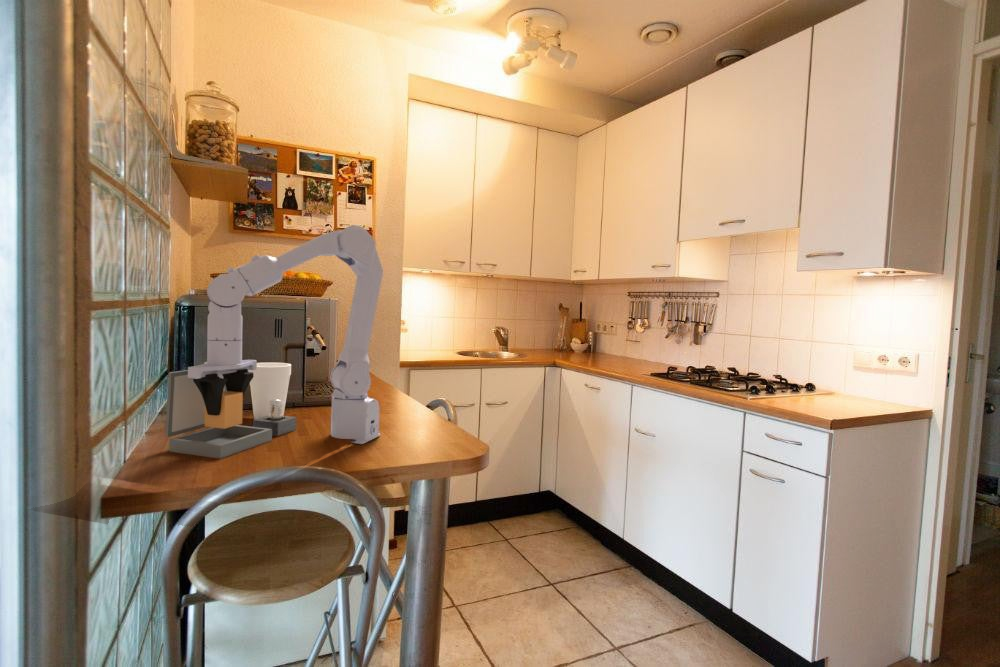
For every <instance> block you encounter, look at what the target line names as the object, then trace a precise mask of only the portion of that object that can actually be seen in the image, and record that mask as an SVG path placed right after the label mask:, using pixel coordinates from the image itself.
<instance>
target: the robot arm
mask: <svg viewBox="0 0 1000 667" xmlns="http://www.w3.org/2000/svg"><path fill="white" fill-rule="evenodd" d="M376 242H377V241H376V240H375V239H374V237H373V236H372V234H370V233H369V232H368V231H367V230H366V229H365V228H364V227H363V226H360V225H357V224H355V225H352V224H351V225H349V226H347V227H345V228H344V229H337V230H334V231H331V232H327V233H324V234H321V235H319V236H316V237H314V238H311V240H308V241H306V242H305V243H302V244H300V245H299V246H297V247H295V248H292V249H290V250H289V251H287V252H285V253H283V254H281V255H279V256H277V257H276V256H275V257H273V256H271V255H268V254H263V255H261V256H260V255H259V254H255V255H253V256H252V257H250V259H251V261H248V262H246V263H244V264H242V265H240V266H238V267H236V268H235V267H234V268H233V267H230V268H228V269H226V272H227V273H220V274H219V275H218V276H216V277H214V278H213V279H212V280H211V281H210V282H209V284H208V286H207V289H206V294H207V297H208V299H209V300H210V301H209V304H208V306H207V307H208V308H207V309H208V313H209V314H207V335H206V336H207V338H206V339H207V342H206V343H207V346H206V348H207V349H206V350H207V351H206V355H207V356H206V357H207V358H206V360H207V361H205V362H203V363H202V364H197V365H194V366H188V367H187V370H188V378H193V382H194V383H195V384H196V386H197V387H198V389H199V391H200V393H201V395H202V397H203V400H204V403H205V406H206V410H207V413H208V415H215V416H217V415H220V411H221V401H222V394H223V389H224V386H225V384H226V391H233V392H243V398H244V397H245V393H246V391H247V389H248V386H250V381H251V380H252V378H253V375H254V373H253V372H248V370H256V369H257V363H258V362H257V360H256V359H243V319H244V318H243V315H242V302H243V300H244V298H245V296H248V297H252V296H255V295H256V294H258V293H260V292H263V291H264V290H266V289H269V288H270V287H272V286H274V285H277V284H279V283H280V282H282V280H283V276H284V273H285V272H287V271H289V270H291V269H293V268H295V267H298V266H299V265H303V264H304V263H306V262H308V261H311V260H313V259H315V258H317V257H320V256H321V257H323V256H324V257H332V256H335V257H337V258H338V259H339V260H341V261H342V262H344V263H346V264H347V265H348V267H349V268H350V269H351V270H352V272H353V273H354V275H355V276H356V279H355V280H356V281H355V287H354V291H353V296H352V300H351V306H350V312H349V317H348V322H347V327H346V332H345V337H344V342H343V348H342V350H341V352H340V353H339V355H338V358H337V363H336V364H335V366H334V367H333V368H332V370H331V372H330V375H329V379H330V383H331V385H332V386H333V388H334V391H333V392H332V393H331V413H330V415H331V416H330V420H331V421H330V436H331V437H332V438H335V439H340V440H341V439H343V440H344V439H345V440H352V441H350V442H349V444H355V445H357V444H358V445H364V444H366V443H368V442H370V441H372V440H374V439H377V438H378V437H380V436H381V433H380V430H379V429H380V404H379V401H378V400H377V399H376V398H371V397H369V396H368V391H369V389H371V388H370V387H371V384H372V379H371V378H372V377H371V375H370V366H371V363H370V358H369V347H370V343H371V337H372V333H373V327H374V322H375V316H376V313H377V312H376V311H377V306H378V301H379V296H380V295H379V294H380V291H381V290H380V289H381V285H382V280H383V276H384V270H383V266H382V263H381V261H380V257H379V255H378V251H377V246H376ZM221 370H225V371H221ZM220 374H222V375H223V378H219V376H218V375H220Z"/></svg>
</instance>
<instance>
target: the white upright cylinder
mask: <svg viewBox="0 0 1000 667" xmlns="http://www.w3.org/2000/svg"><path fill="white" fill-rule="evenodd" d="M269 420H272V421H278V420H282V399H271V400H270V411H269Z"/></svg>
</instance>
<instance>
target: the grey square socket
mask: <svg viewBox="0 0 1000 667" xmlns="http://www.w3.org/2000/svg"><path fill="white" fill-rule="evenodd" d="M252 427H258V428H267V429H272V437H273V436H274V437H280V436H283V435H286V434H288V433H291V432H293V431H296V430H297V416H291V415H283V416H282V420H278V421H272V420H269V416H266V417H262V418H259V419H253V420H252Z"/></svg>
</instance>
